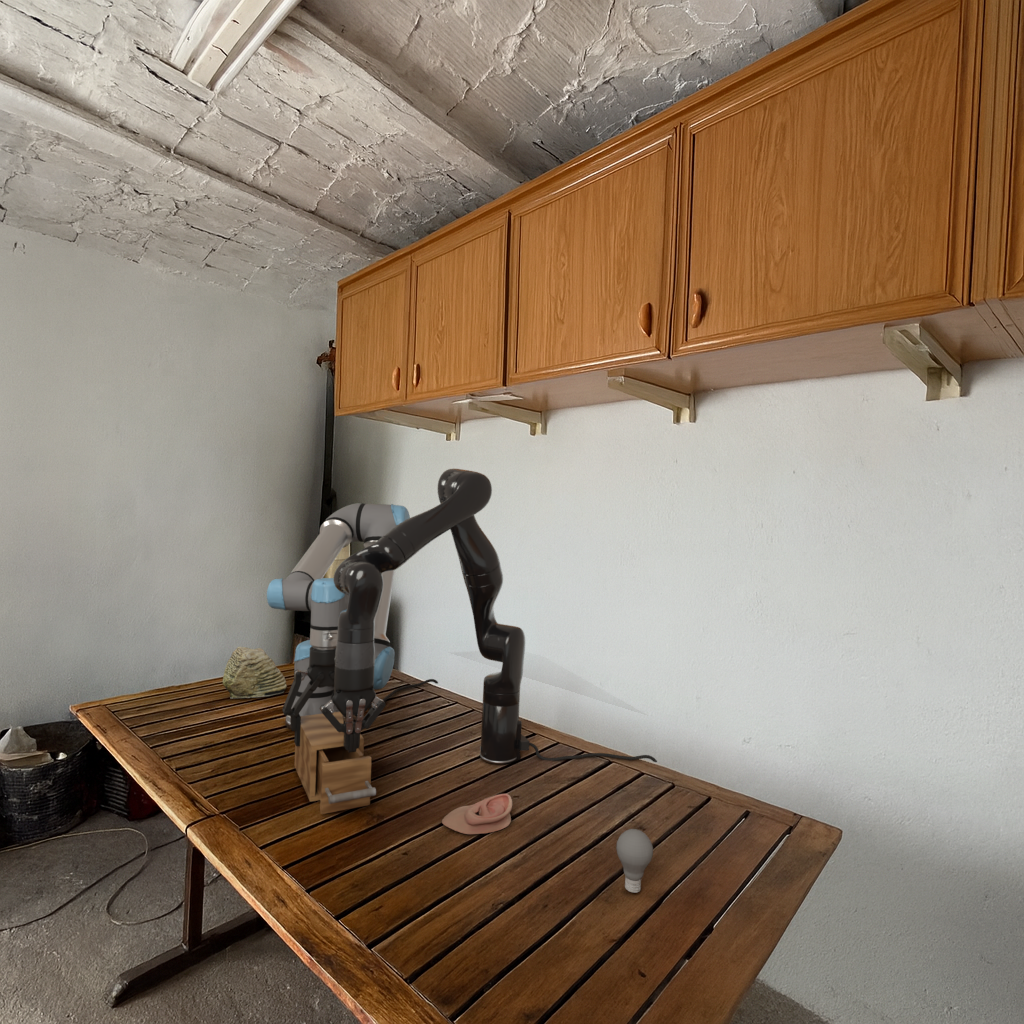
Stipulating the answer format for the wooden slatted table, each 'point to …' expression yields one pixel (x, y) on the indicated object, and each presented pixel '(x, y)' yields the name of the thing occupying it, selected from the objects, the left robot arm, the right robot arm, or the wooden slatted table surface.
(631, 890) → the light bulb
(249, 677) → the fossil
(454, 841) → the wooden slatted table surface
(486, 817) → the anatomical model
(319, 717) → the cabinet
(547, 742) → the wooden slatted table surface
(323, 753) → the drawer
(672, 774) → the wooden slatted table surface
